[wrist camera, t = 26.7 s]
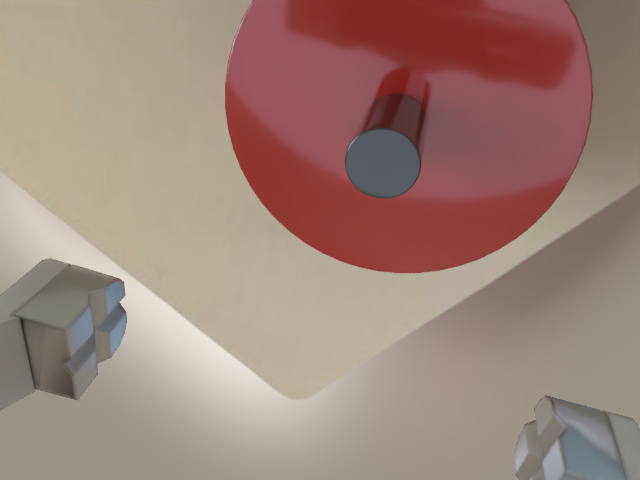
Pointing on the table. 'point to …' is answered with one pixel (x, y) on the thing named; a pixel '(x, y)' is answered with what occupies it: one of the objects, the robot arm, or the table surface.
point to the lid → (408, 122)
